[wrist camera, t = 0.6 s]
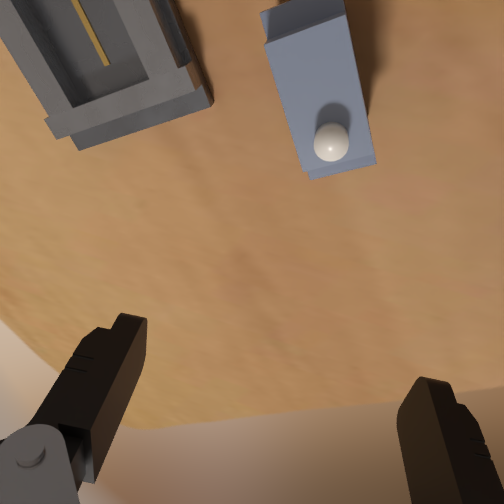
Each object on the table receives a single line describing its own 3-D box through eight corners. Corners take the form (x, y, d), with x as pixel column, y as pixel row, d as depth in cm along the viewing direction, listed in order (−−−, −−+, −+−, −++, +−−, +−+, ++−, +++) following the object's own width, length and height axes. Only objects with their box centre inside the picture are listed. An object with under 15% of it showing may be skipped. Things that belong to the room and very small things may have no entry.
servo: (270, 3, 24) (251, 20, 19) (338, -25, 23) (339, -15, 18) (313, 150, 29) (307, 199, 24) (371, 135, 28) (380, 182, 23)
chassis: (-55, -92, 24) (-90, -95, 22) (98, -193, 21) (72, -207, 19) (85, 145, 32) (68, 159, 30) (214, 102, 28) (205, 114, 26)
